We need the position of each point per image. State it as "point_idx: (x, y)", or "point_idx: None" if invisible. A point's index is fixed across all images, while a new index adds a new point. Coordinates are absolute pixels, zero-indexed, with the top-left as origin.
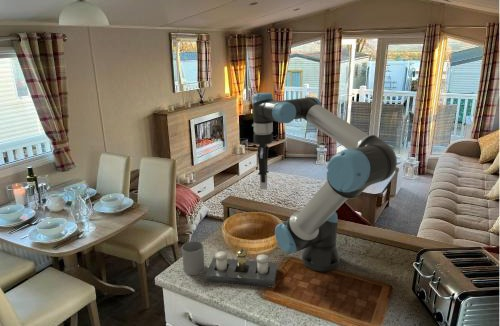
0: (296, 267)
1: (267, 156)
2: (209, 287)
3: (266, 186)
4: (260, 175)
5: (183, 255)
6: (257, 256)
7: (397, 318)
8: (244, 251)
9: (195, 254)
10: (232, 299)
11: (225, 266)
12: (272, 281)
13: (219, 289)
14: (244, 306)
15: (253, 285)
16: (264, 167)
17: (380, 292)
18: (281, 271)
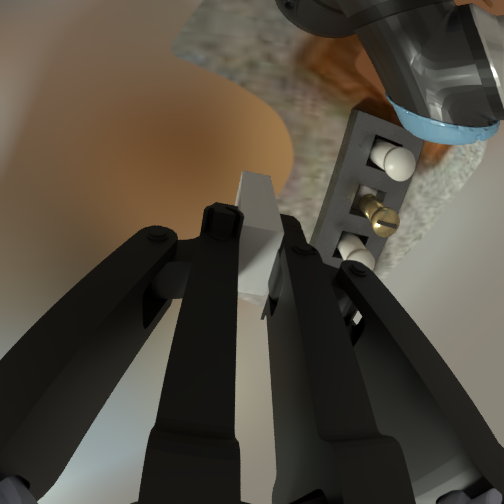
0: (349, 59)
1: (236, 450)
2: (381, 259)
3: (270, 184)
4: (266, 284)
5: None
6: (393, 177)
7: None
8: (388, 216)
9: None
10: (424, 220)
11: (361, 242)
12: (422, 141)
13: (393, 242)
14: (445, 201)
15: None
16: (421, 343)
17: None
18: (362, 100)
